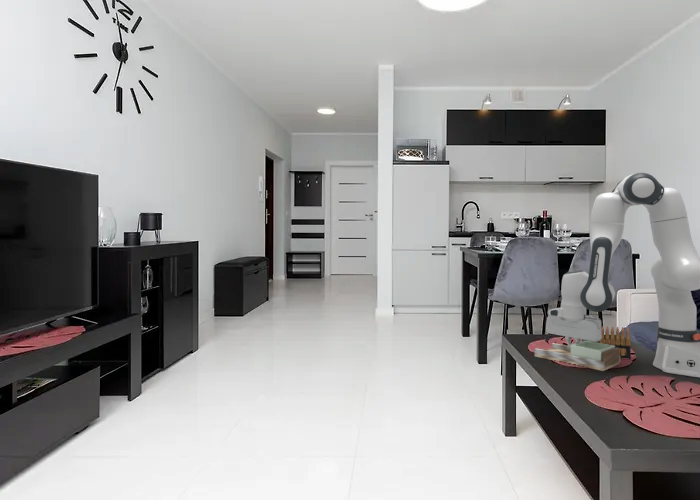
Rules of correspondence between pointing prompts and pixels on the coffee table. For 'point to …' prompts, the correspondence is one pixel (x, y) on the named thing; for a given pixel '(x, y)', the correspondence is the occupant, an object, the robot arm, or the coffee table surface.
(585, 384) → the coffee table surface
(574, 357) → the striped flat box
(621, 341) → the ammunition clip
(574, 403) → the coffee table surface
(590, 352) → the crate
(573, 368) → the coffee table surface
